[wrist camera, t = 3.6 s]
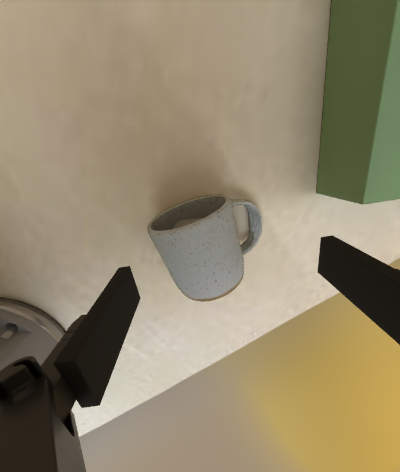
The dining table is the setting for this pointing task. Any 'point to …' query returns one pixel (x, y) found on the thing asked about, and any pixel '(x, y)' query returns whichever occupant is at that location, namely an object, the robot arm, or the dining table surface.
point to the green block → (362, 103)
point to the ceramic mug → (204, 244)
